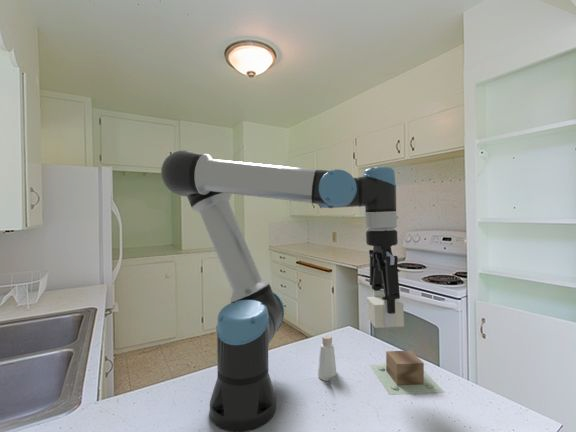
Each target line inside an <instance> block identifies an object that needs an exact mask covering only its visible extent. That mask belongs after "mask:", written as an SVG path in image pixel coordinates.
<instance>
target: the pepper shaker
mask: <svg viewBox="0 0 576 432" xmlns="http://www.w3.org/2000/svg"><path fill="white" fill-rule="evenodd" d="M321 339H322V340H321V341H322V343H320V349H319V359H318V368H317V369H318V370H317V376H318V379H320V380H322V381H324V382H331V378H334V377H335V376H337V365H336V354H335V346H334V343H333V337H332V335H330V334H323V335H322V336H321Z"/></svg>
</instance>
